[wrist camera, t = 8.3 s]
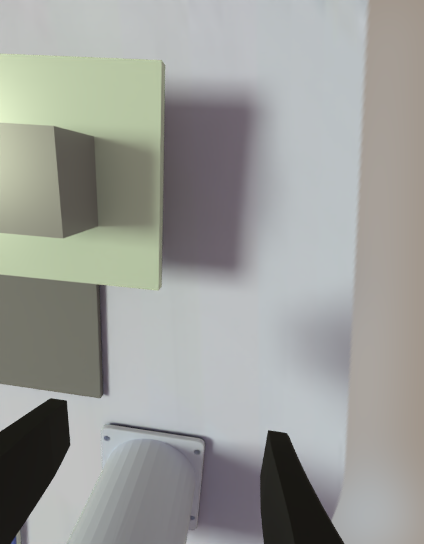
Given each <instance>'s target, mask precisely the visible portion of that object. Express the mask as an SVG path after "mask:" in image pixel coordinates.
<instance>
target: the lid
mask: <svg viewBox="0 0 424 544" xmlns="http://www.w3.org/2000/svg"><path fill="white" fill-rule="evenodd" d="M164 110H165V64H164V63H163V62H162V60H143V59H118V58H93V57H68V56H44V55H19V54H0V274H1V275H11V276H21V277H30V278H40V279H50V280H60V281H70V282H80V283H90V284H99V285H109V286H119V287H129V288H139V289H149V290H159V289H160V288H161V287H162V231H163V170H164Z"/></svg>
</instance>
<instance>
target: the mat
mask: <svg viewBox="0 0 424 544" xmlns="http://www.w3.org/2000/svg"><path fill="white" fill-rule="evenodd" d="M0 384H6V385H13V386H20V387H27V388H33V389H40V390H47V391H54V392H61V393H68V394H75V395H82V396H89V397H95V398H101V397H102V395H103V381H102V352H101V323H100V294H99V284H90V283H80V282H70V281H60V280H50V279H40V278H30V277H21V276H11V275H1V274H0Z"/></svg>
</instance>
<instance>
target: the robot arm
mask: <svg viewBox="0 0 424 544" xmlns="http://www.w3.org/2000/svg"><path fill="white" fill-rule="evenodd" d="M108 436H109V437H108ZM69 447H70V436H69V423H68V411H67V401H65V400H58V399H52V398H50V399H49V400H47V401H46V402H44V403H43V404H41V405H40V406H38V407H37V408H35V409H34V410H32V411H31V412H29V413H28V414H26V415H25V416H23V417H22V418H20V419H19V420H17V421H16V422H14V423H13V424H11V425H10V426H8V427H7V428H5V429H4V430H2V431H1V432H0V544H11V543H12V541H13V540H14V538H15V537H16V535H17V534H18V532H19V530H20V529H21V527H22V526H23V524H24V523H25V521H26V520H27V518H28V517H29V515H30V514H31V512H32V510H33V509H34V507H35V506H36V504H37V503H38V501H39V500H40V498H41V497H42V495H43V493H44V492H45V490H46V489H47V487H48V486H49V484H50V483H51V481H52V479H53V478H54V476H55V474H56V472H57V470H58V469H59V467H60V465H61V463H62V461H63V459H64V457H65V455H66V453H67V451H68V449H69ZM101 447H102V472H101V474H100V476H99V478H98V480H97V482H96V484H95V486H94V488H93V490H92V493H91V495H90V497H89V499H88V501H87V503H86V505H85V507H84V509H83V511H82V513H81V515H80V517H79V519H78V521H77V523H76V525H75V527H74V530H73V532H72V534H71V536H70V538H69V540H68V542H67V544H186V540H187V534H188V530H195V529H196V528H197V522H198V511H199V501H200V491H201V480H202V470H203V459H204V449H205V442H204V441H203V440H202V439H200V438H194V437H188V436H181V435H175V434H168V433H161V432H155V431H148V430H142V429H135V428H128V427H122V426H115V425H104V426H103V428H102V430H101ZM197 450H199V451H197ZM260 493H261V518H262V529H263V539H264V544H344V542H343V541H342V539H341V537H340V536H339V534H338V532H337V531H336V529H335V527H334V526H333V524H332V522H331V520H330V519H329V517H328V515H327V513H326V512H325V510H324V508H323V506H322V504H321V503H320V501H319V499H318V497H317V495H316V493H315V491H314V489H313V487H312V485H311V484H310V482H309V480H308V478H307V476H306V474H305V472H304V469H303V467H302V465H301V463H300V461H299V459H298V457H297V454H296V452H295V450H294V447H293V445H292V443H291V440H290V438H289V436H288V435H287V433H283V432H276V431H269V430H268V435H267V440H266V446H265V452H264V458H263V463H262V469H261V475H260Z"/></svg>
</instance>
